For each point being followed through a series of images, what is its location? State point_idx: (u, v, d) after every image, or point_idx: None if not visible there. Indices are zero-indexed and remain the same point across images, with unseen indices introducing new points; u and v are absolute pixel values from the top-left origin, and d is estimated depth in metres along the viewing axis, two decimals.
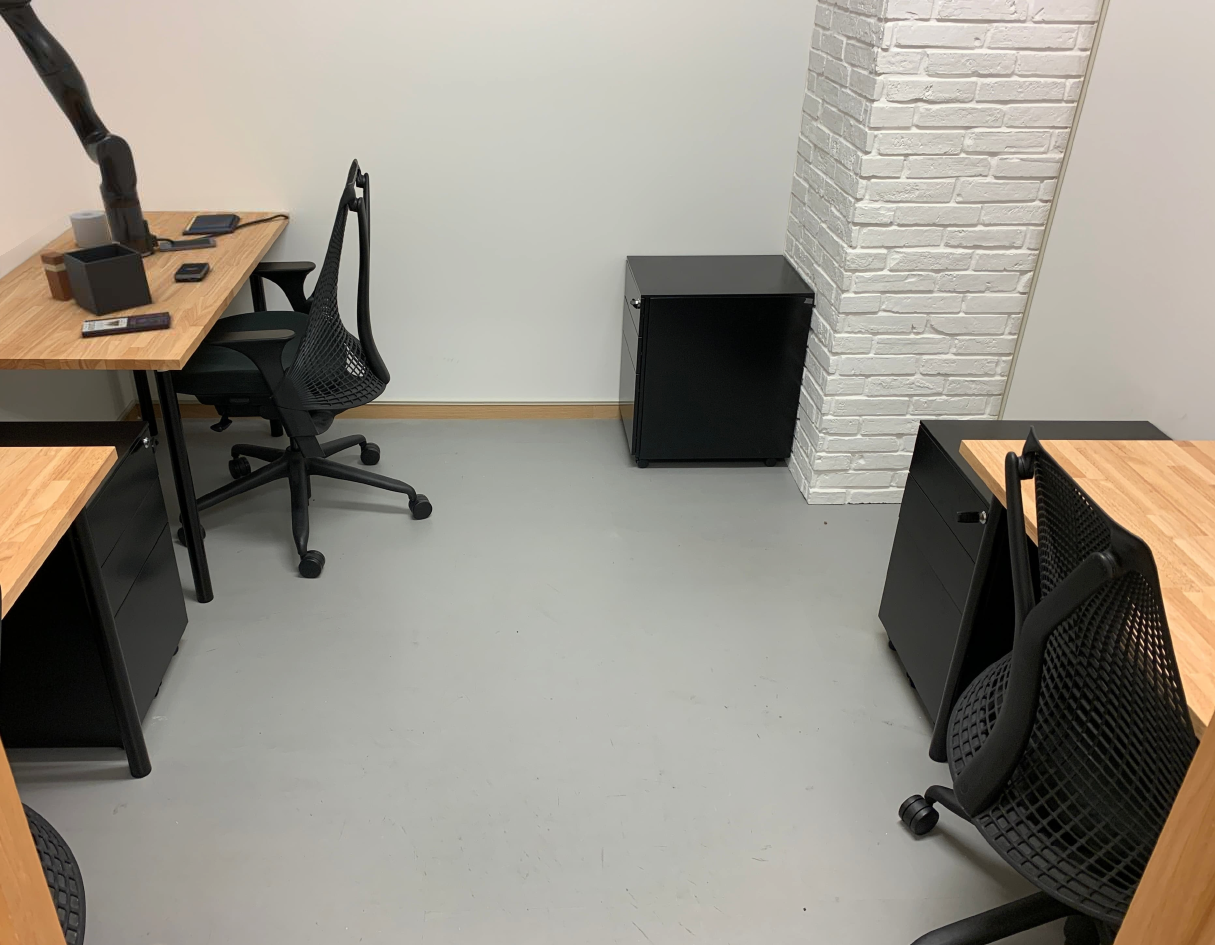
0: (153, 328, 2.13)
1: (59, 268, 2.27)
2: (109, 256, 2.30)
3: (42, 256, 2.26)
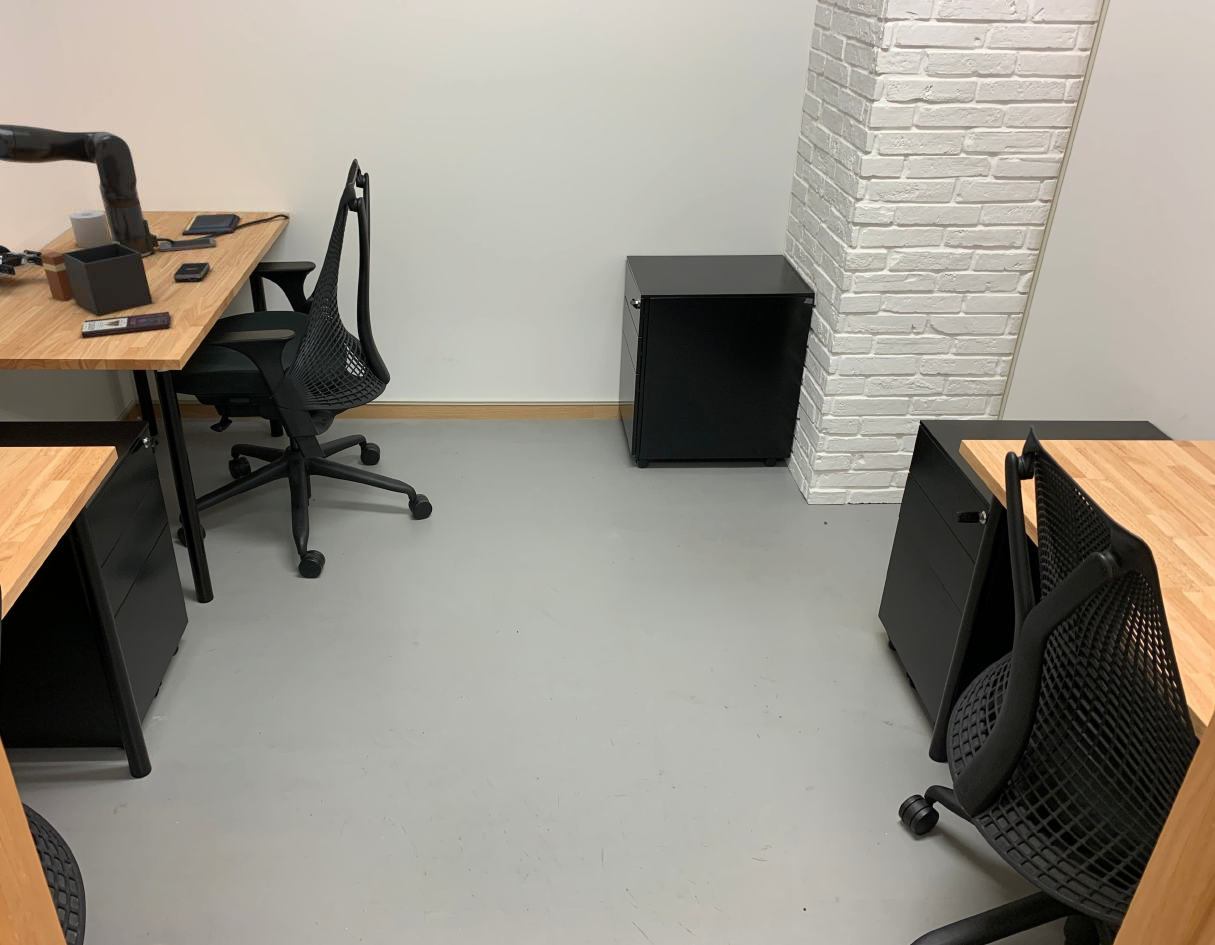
0: (153, 328, 2.13)
1: (59, 268, 2.27)
2: (109, 256, 2.30)
3: (42, 256, 2.26)
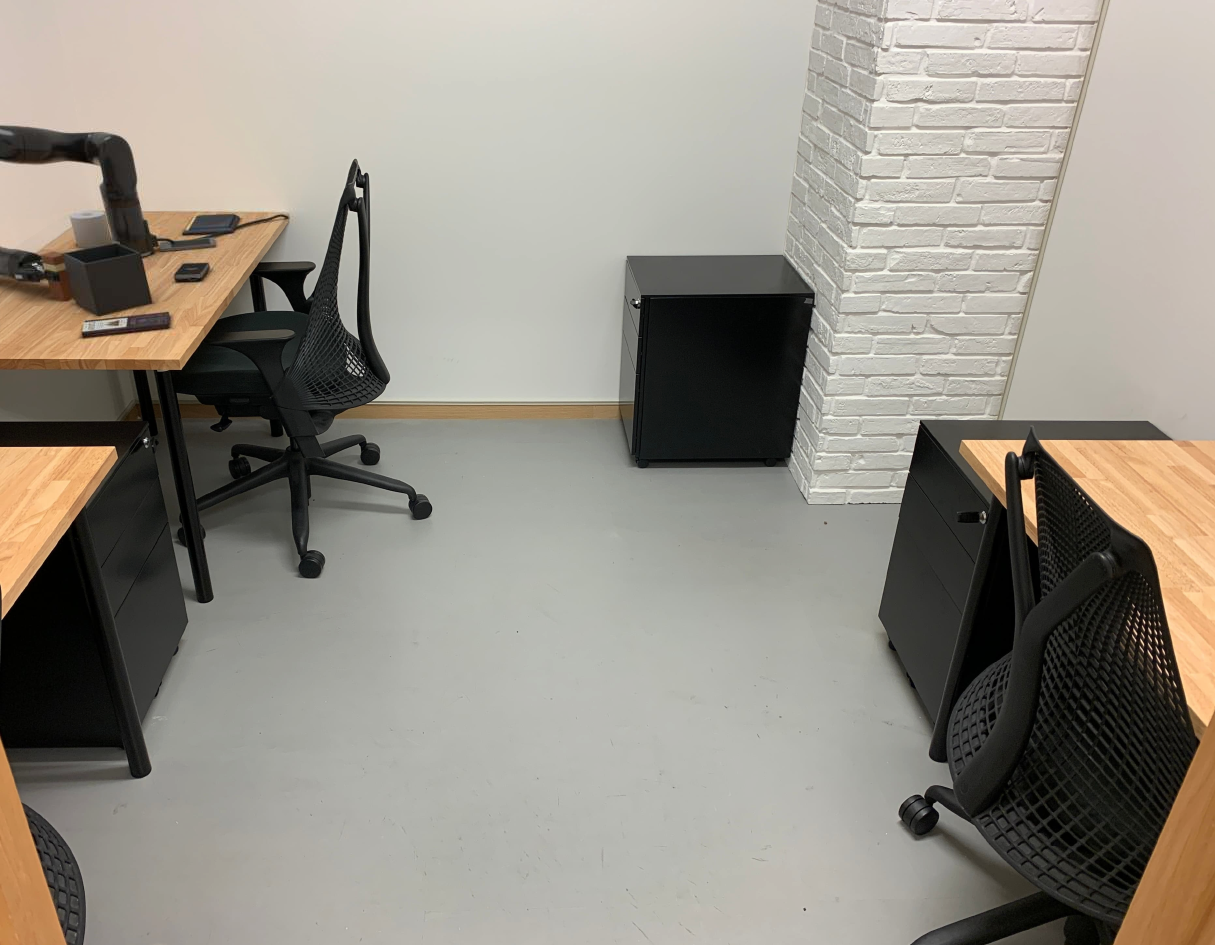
0: (153, 328, 2.13)
1: (59, 268, 2.27)
2: (109, 256, 2.30)
3: (42, 256, 2.26)
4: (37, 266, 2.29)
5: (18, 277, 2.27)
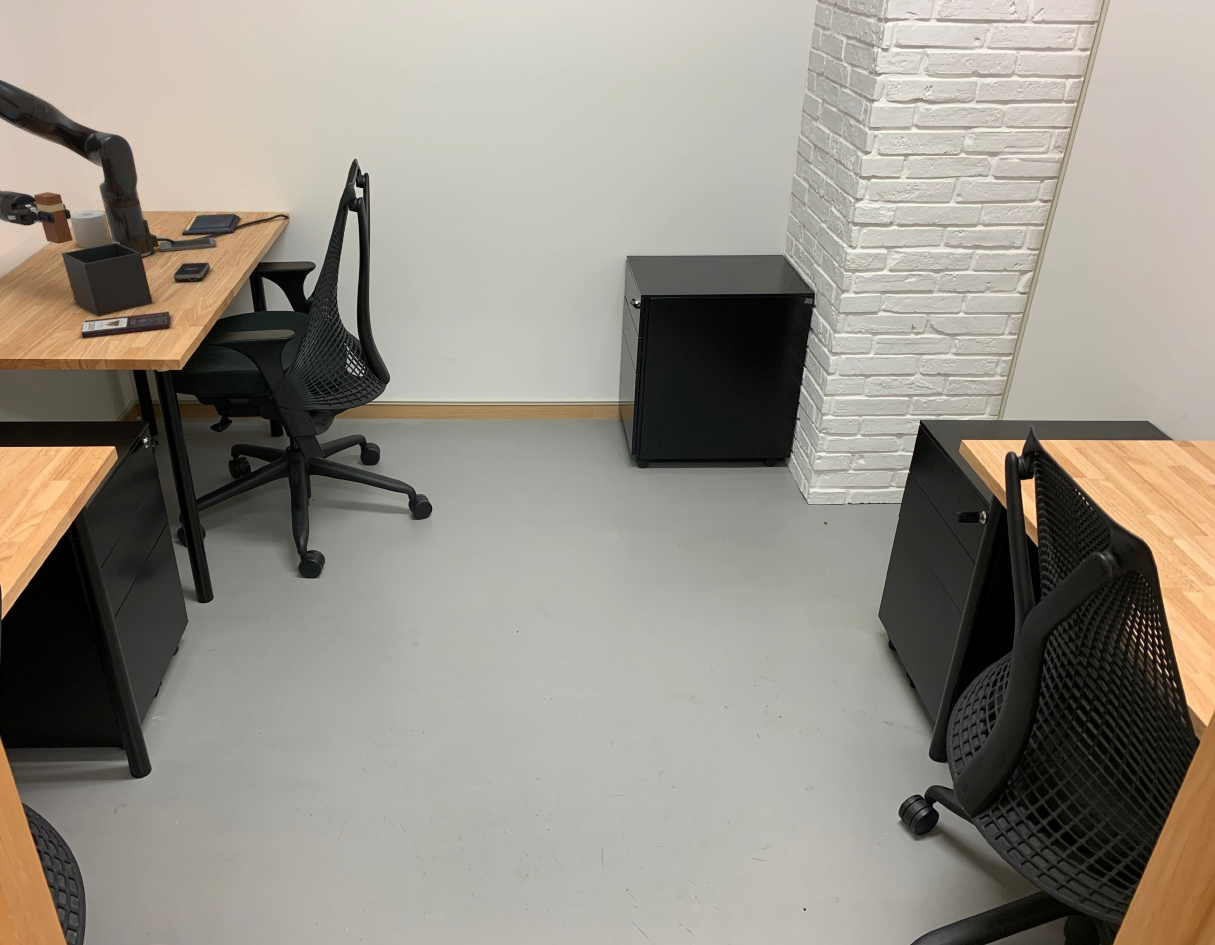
0: (153, 328, 2.13)
1: (54, 209, 2.19)
2: (109, 256, 2.30)
3: (36, 196, 2.18)
4: (30, 207, 2.21)
5: (10, 219, 2.19)
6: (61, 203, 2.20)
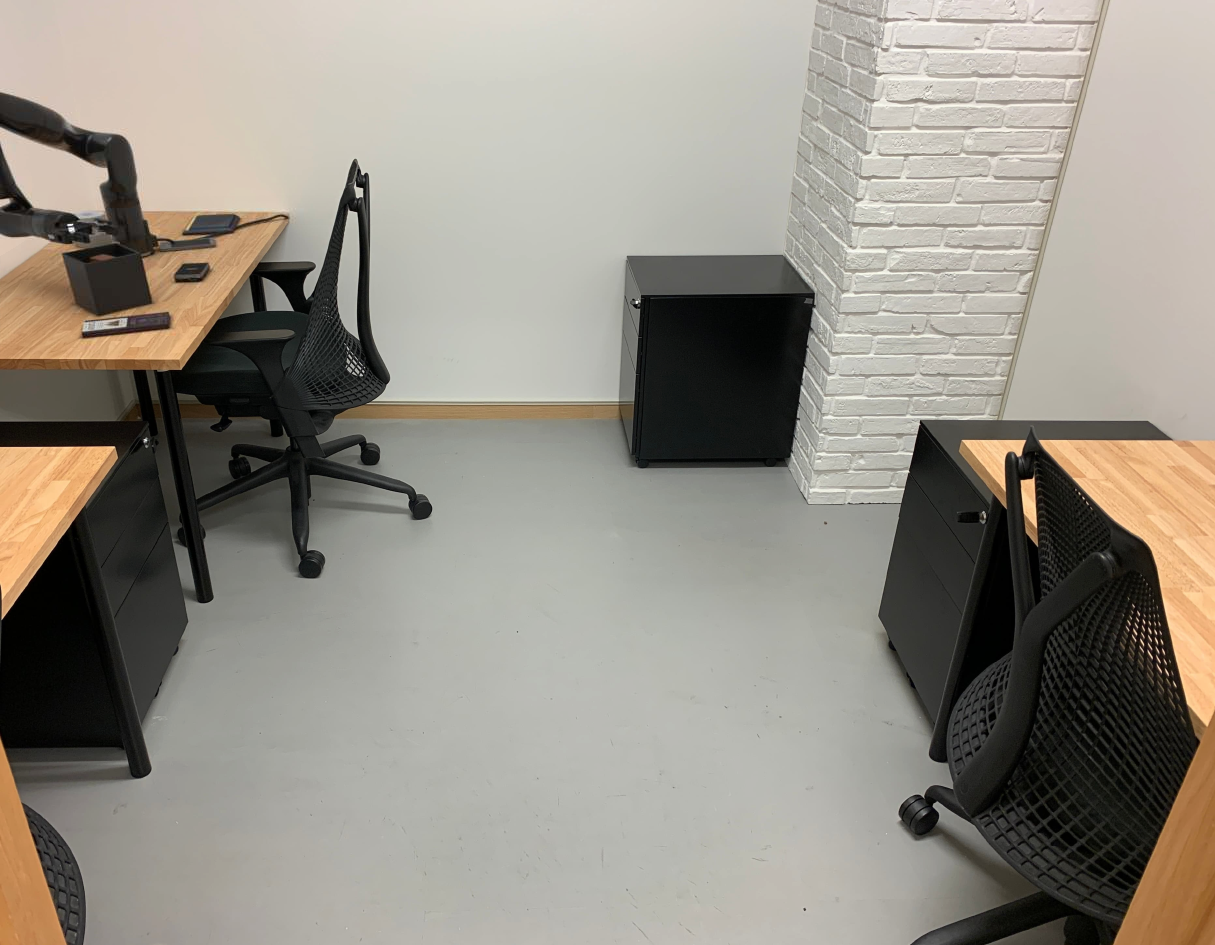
0: (153, 328, 2.13)
1: None
2: None
3: (91, 259, 2.23)
4: (70, 227, 2.19)
5: (50, 238, 2.18)
6: None
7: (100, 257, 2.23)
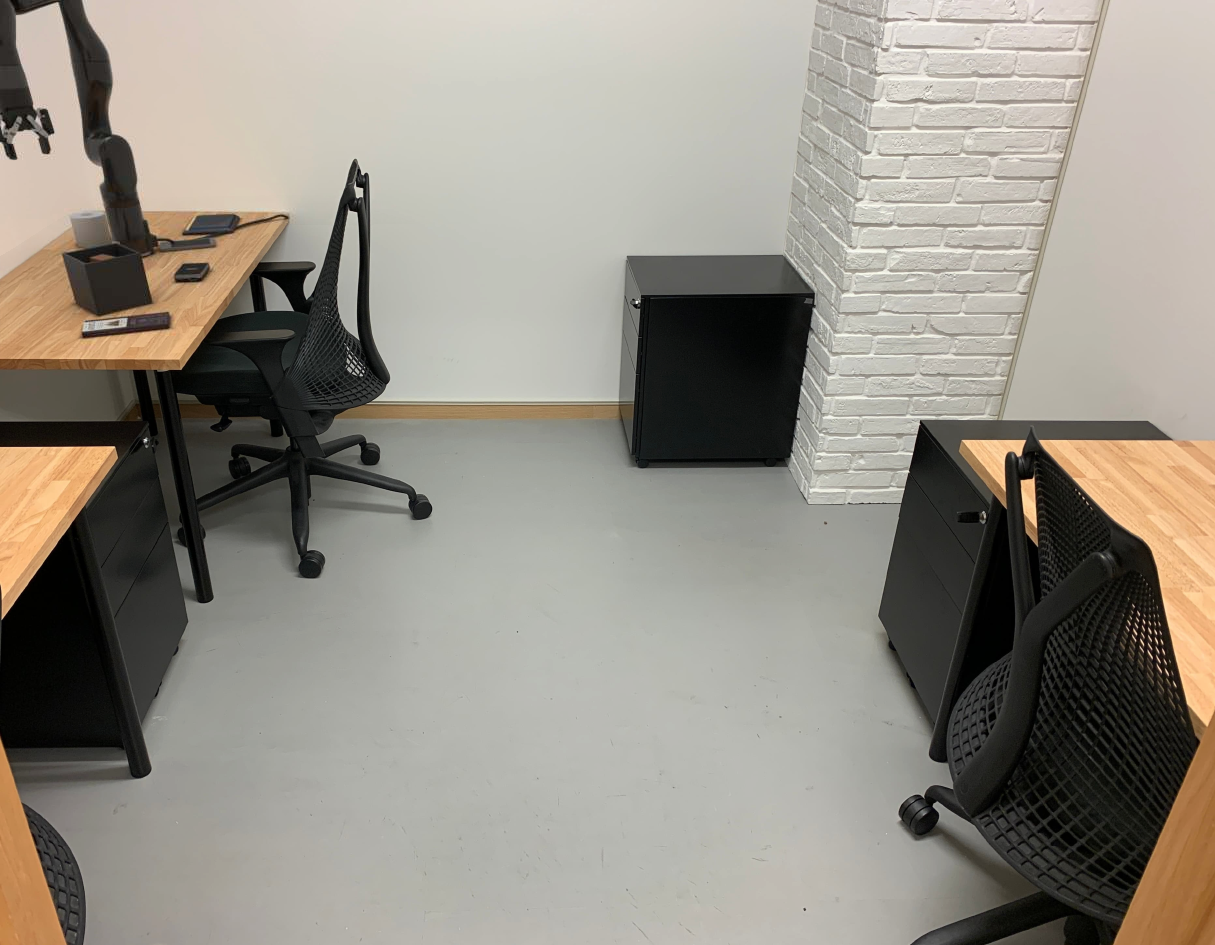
0: (153, 328, 2.13)
1: None
2: None
3: (91, 259, 2.23)
4: None
5: None
6: None
7: (100, 257, 2.23)
